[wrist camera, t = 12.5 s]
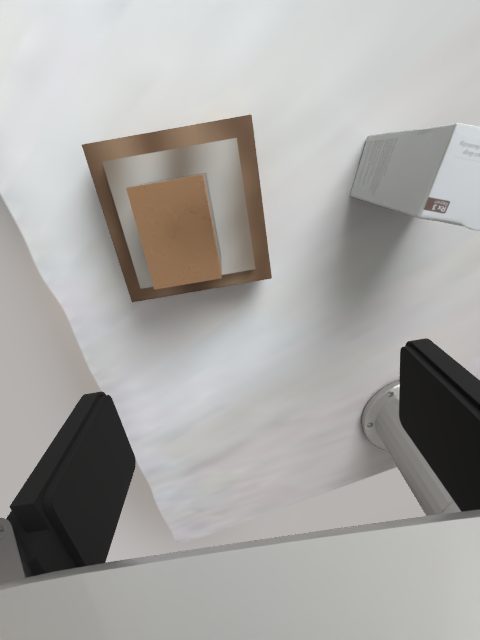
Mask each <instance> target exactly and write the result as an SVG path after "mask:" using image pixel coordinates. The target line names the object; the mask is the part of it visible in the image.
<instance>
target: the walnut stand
mask: <svg viewBox="0 0 480 640" xmlns="http://www.w3.org/2000/svg"><path fill="white" fill-rule="evenodd" d="M82 147H83V150H84V153H85V156H86V160H87V163H88V166H89V169H90V172H91V175H92V178H93V181H94V184H95V188H96V191H97V194H98V197H99V200H100V203H101V206H102V209H103V213H104V216H105V219H106V222H107V225H108V228H109V231H110V234H111V238H112V241H113V244H114V247H115V250H116V253H117V256H118V259H119V263H120V266H121V269H122V272H123V275H124V278H125V281H126V284H127V287H128V291H129V294H130V297H131V300H132V302H136V301H142V300H148V299H153V298H159V297H165V296H171V295H177V294H183V293H188V292H194V291H200V290H206V289H212V288H218V287H224V286H229V285H235V284H241V283H247V282H253V281H259V280H264V279H270V278H272V277H271V269H270V261H269V253H268V245H267V237H266V229H265V220H264V212H263V204H262V196H261V188H260V180H259V172H258V164H257V156H256V148H255V140H254V132H253V124H252V116H251V115H247V116H241V117H235V118H230V119H224V120H218V121H213V122H207V123H202V124H196V125H190V126H185V127H179V128H174V129H168V130H162V131H157V132H151V133H145V134H140V135H134V136H129V137H123V138H117V139H112V140H106V141H101V142H95V143H89V144H84V145H82ZM201 173H206V174H207V179H208V185H209V190H210V196H211V201H212V207H213V212H214V218H215V223H216V229H217V234H218V240H219V245H220V251H221V264H222V278H221V279H215V280H209V281H203V282H197V283H191V284H185V285H179V286H173V287H167V288H161V289H155V290H154V286H153V283H152V279H151V276H150V272H149V268H148V265H147V261H146V258H145V254H144V251H143V247H142V244H141V240H140V236H139V233H138V229H137V226H136V222H135V219H134V215H133V211H132V208H131V204H130V201H129V197H128V194H127V190H126V188H128V187H132V186H136V185H140V184H144V183H148V182H154V181H160V180H166V179H172V178H178V177H183V176H189V175H195V174H201Z"/></svg>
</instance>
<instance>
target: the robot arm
mask: <svg viewBox="0 0 480 640" xmlns="http://www.w3.org/2000/svg"><path fill="white" fill-rule="evenodd" d="M362 427H363V430H364V432H365V434H366V436H367V438H368V439H369V441H370V442H371V443H372V444H374V445H375V446H377V447H378V448H380V449H383V450H387V451H388V452H389V453H390V455H391V457H392V459H393V460H394V462H395V464H396V465H397V467H398V469H399V470H400V472H401V474H402V475H403V477H404V479H405V480H406V482H407V484H408V486H409V487H410V489H411V491H412V492H413V494H414V496H415V497H416V499H417V501H418V502H419V504H420V506H421V507H422V509H423V511H424V512H425V514H426V516H424V517H416V518H409V519H402V520H395V521H387V522H380V523H373V524H366V525H359V526H351V527H344V528H337V529H330V530H323V531H317V532H309V533H302V534H295V535H288V536H282V537H274V538H268V539H261V540H254V541H248V542H240V543H233V544H226V545H220V546H213V547H206V548H200V549H193V550H186V551H180V552H173V553H167V554H160V555H153V556H146V557H140V558H134V559H127V560H120V561H114V562H108V563H105V561H106V558H107V555H108V552H109V549H110V545H111V542H112V539H113V536H114V533H115V530H116V526H117V523H118V520H119V517H120V514H121V511H122V507H123V504H124V501H125V498H126V495H127V492H128V489H129V485H130V482H131V479H132V476H133V472H134V470H135V456H134V453H133V451H132V448H131V446H130V443H129V441H128V438H127V436H126V433H125V431H124V428H123V426H122V423H121V420H120V418H119V415H118V413H117V410H116V408H115V405H114V403H113V400H112V398H111V396H109V395H106V394H105V393H104V392H97V393H91V394H85V395H83V396H82V397H81V399H80V401H79V402H78V403H77V405H76V406H75V408H74V410H73V411H72V413H71V414H70V416H69V417H68V419H67V420H66V422H65V423H64V425H63V426H62V428H61V429H60V431H59V432H58V434H57V435H56V437H55V438H54V440H53V442H52V443H51V445H50V446H49V447H48V449H47V451H46V452H45V454H44V455H43V457H42V458H41V460H40V461H39V463H38V464H37V466H36V467H35V469H34V471H33V472H32V474H31V475H30V476H29V478H28V479H27V481H26V482H25V484H24V486H23V487H22V489H21V490H20V492H19V493H18V495H17V496H16V498H15V499H14V501H13V502H12V504H11V505H10V508H11V510H12V511H11V512H10V514H9V516H8V517H7V519H4V518H0V640H480V380H478V379H477V378H476V377H475V376H473V375H472V374H471V373H470V372H469V371H467V370H466V369H465V368H464V367H462V366H461V365H460V364H459V363H457V362H456V361H455V360H454V359H453V358H451V357H450V356H449V355H448V354H446V353H445V352H444V351H443V350H442V349H440V348H439V347H438V346H437V345H435V344H434V343H433V342H432V341H431V340H429V339H420V340H414V341H408V342H407V343H406V346H405V347H402V348H401V352H400V380H399V381H395V382H393V383H391V384H389V385H387V386H385V387H384V388H383V389H381V390H380V391H378V392H377V393H376V394H375V395H374V396H373V397H372V398H371V400H370V401H369V402H368V404H367V405H366V407H365V409H364V412H363V416H362Z"/></svg>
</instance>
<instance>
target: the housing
mask: <svg viewBox="0 0 480 640" xmlns="http://www.w3.org/2000/svg"><path fill="white" fill-rule="evenodd" d="M126 190H127V194H128V197H129V201H130V204H131V208H132V211H133V215H134V219H135V222H136V226H137V229H138V233H139V236H140V240H141V244H142V247H143V251H144V254H145V258H146V261H147V265H148V268H149V272H150V276H151V279H152V283H153V286H154V290H155V289H161V288H167V287H173V286H179V285H185V284H191V283H197V282H203V281H209V280H215V279H221V278H222V264H221V251H220V245H219V240H218V234H217V229H216V223H215V218H214V212H213V207H212V201H211V196H210V190H209V185H208V179H207V174H206V173H201V174H195V175H189V176H183V177H178V178H172V179H166V180H160V181H154V182H148V183H144V184H140V185H136V186H132V187H128V188H126Z"/></svg>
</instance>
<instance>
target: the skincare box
mask: <svg viewBox="0 0 480 640" xmlns="http://www.w3.org/2000/svg"><path fill="white" fill-rule="evenodd" d="M350 196H351V197H354V198H357V199H360V200H363V201H366V202H370V203H373V204H376V205H379V206H382V207H385V208H389V209H392V210H395V211H398V212H401V213H404V214H407V215H411V216H414V217H417V218H421V219H427V220H433V221H439V222H444V223H449V224H455V225H460V226H465V227H467V228H469V229H473V230H480V127H478V126H473V125H467V124H461V123H455V124H450V125H443V126H436V127H431V128H424V129H413V130H405V131H399V132H391V133H385V134H377V135H371V136H368V137H367V141H366V144H365V147H364V151H363V154H362V157H361V161H360V164H359V167H358V170H357V174H356V177H355V180H354V184H353V187H352V190H351V194H350Z"/></svg>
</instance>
